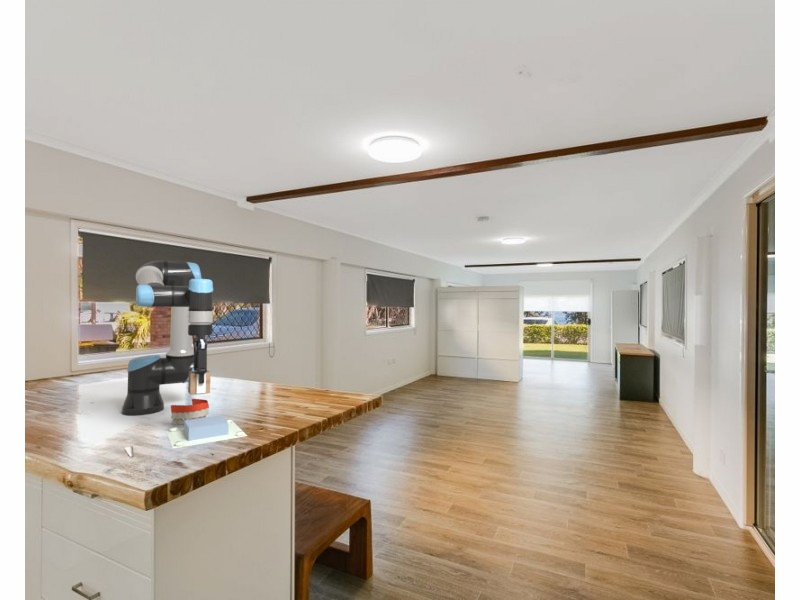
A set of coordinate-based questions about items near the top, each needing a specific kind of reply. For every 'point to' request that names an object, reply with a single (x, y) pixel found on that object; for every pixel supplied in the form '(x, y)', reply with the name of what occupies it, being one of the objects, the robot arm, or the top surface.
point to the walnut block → (193, 382)
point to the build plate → (180, 439)
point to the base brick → (205, 427)
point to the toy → (189, 411)
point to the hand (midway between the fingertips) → (199, 391)
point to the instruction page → (129, 451)
